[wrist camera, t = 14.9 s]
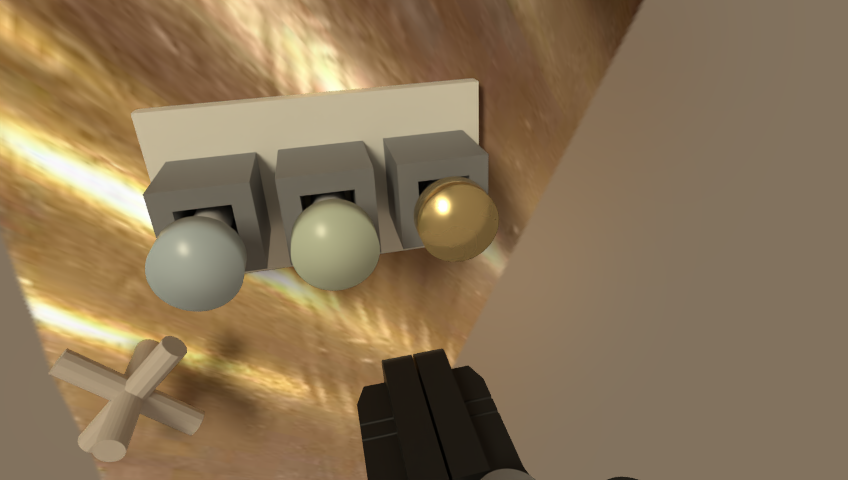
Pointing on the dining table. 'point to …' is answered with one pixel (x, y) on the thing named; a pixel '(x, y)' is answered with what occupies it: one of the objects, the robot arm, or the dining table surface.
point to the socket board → (310, 158)
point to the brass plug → (455, 218)
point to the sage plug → (334, 243)
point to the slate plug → (198, 260)
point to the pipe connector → (128, 395)
